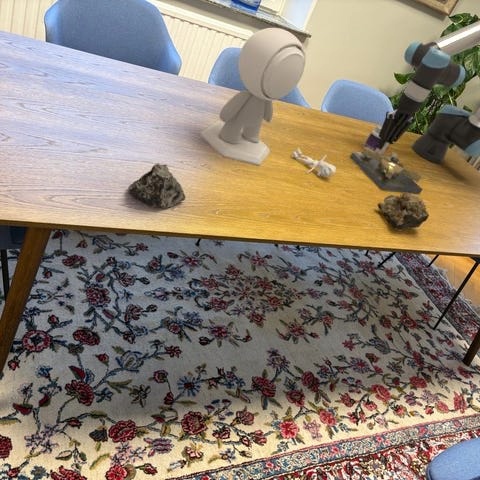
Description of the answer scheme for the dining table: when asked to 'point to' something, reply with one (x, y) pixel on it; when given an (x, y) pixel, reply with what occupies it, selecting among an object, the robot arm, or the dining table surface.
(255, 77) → the big headed doll
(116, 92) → the dining table surface
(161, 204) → the rock
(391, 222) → the mineral specimen
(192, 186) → the dining table surface
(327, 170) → the figurine
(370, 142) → the pill bottle
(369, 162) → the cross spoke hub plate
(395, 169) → the four spoke knob plate
